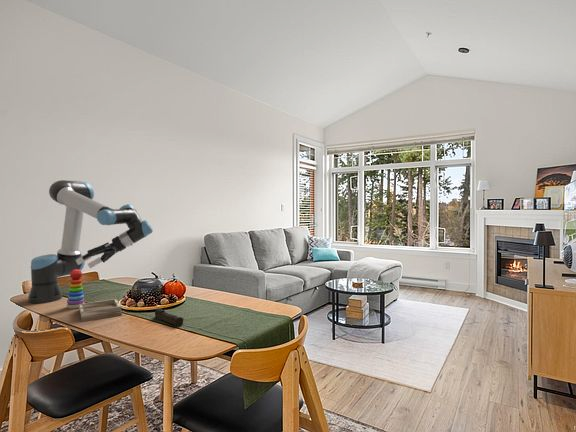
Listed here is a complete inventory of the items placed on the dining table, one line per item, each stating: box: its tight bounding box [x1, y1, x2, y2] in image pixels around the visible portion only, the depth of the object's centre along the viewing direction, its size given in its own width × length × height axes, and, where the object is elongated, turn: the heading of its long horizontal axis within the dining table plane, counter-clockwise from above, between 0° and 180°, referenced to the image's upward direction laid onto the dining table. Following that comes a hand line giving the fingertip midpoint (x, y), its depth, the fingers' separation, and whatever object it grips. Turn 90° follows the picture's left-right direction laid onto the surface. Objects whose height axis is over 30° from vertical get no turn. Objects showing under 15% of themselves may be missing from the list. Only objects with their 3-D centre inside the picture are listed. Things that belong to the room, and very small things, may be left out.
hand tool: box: [154, 307, 184, 328], centre depth 155 cm, size 19×4×5 cm, turn 48°
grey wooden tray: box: [78, 298, 123, 323], centre depth 167 cm, size 20×16×4 cm
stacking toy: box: [66, 269, 86, 310], centre depth 176 cm, size 8×8×19 cm
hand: (83, 264), depth 178 cm, fingers open, 13 cm apart
